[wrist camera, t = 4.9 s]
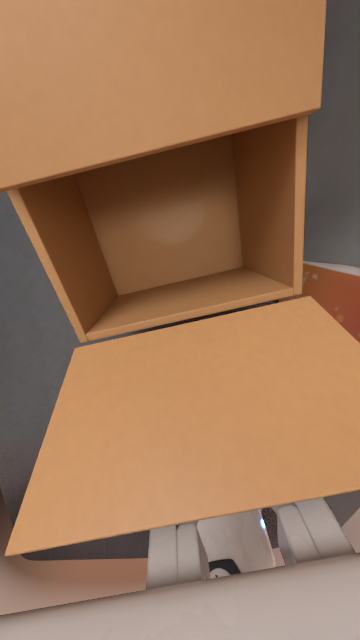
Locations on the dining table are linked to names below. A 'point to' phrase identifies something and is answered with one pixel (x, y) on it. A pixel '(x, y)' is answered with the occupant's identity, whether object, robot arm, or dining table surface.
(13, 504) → the dining table surface
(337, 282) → the small box
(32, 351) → the dining table surface
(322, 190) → the dining table surface
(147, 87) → the carton
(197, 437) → the flap
